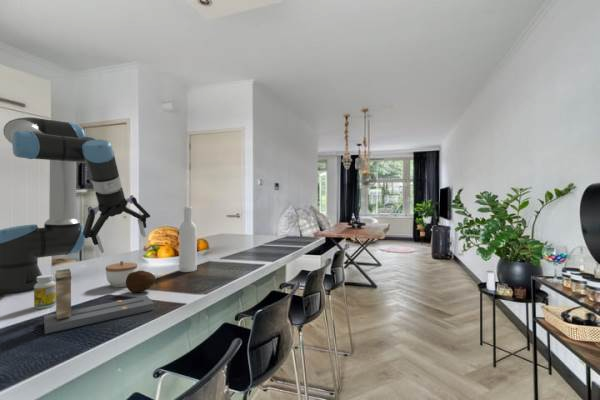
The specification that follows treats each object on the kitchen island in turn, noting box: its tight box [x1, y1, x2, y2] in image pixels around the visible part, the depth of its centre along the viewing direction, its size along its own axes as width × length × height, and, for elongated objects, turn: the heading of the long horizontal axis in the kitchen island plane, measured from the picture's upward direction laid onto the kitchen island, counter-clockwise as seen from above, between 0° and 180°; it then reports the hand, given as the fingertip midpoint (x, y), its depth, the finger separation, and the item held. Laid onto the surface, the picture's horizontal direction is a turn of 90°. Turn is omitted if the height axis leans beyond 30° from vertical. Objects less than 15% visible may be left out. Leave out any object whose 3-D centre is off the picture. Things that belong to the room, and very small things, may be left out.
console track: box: [43, 295, 155, 335], centre depth 89 cm, size 26×9×2 cm, turn 131°
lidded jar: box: [105, 260, 138, 288], centre depth 119 cm, size 11×11×9 cm
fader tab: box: [54, 268, 72, 319], centre depth 83 cm, size 3×5×12 cm, turn 41°
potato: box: [125, 270, 157, 293], centre depth 111 cm, size 7×10×8 cm
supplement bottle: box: [33, 274, 56, 310], centre depth 96 cm, size 5×5×10 cm
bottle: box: [178, 206, 198, 273], centre depth 143 cm, size 8×8×30 cm
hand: (123, 242), depth 107 cm, fingers open, 13 cm apart
